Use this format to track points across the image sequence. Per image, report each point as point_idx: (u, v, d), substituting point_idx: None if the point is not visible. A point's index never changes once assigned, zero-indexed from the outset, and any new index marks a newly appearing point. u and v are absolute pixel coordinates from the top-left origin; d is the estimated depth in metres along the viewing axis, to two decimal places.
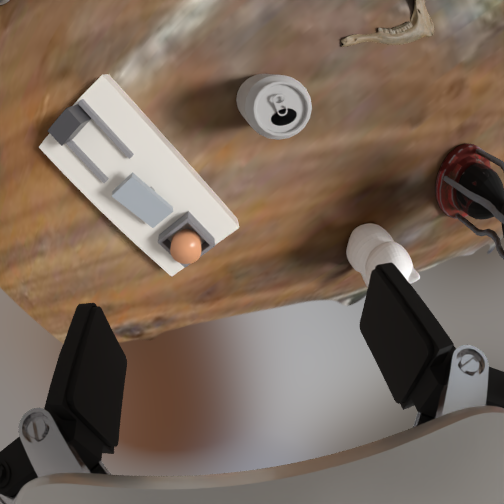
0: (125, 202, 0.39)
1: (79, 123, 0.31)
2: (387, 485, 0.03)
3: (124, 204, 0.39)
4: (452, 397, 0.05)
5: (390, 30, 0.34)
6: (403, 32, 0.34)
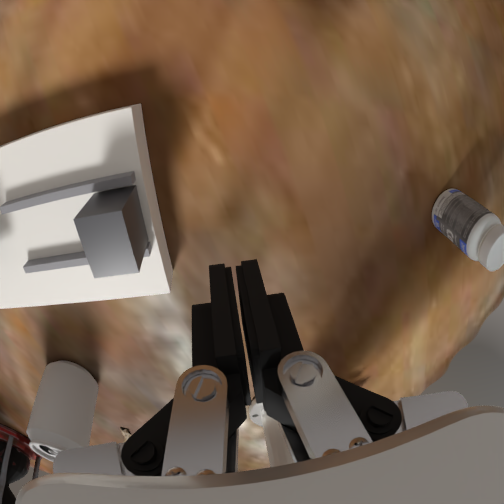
0: None
1: (96, 276, 0.17)
2: (387, 485, 0.03)
3: None
4: (308, 420, 0.06)
5: None
6: None
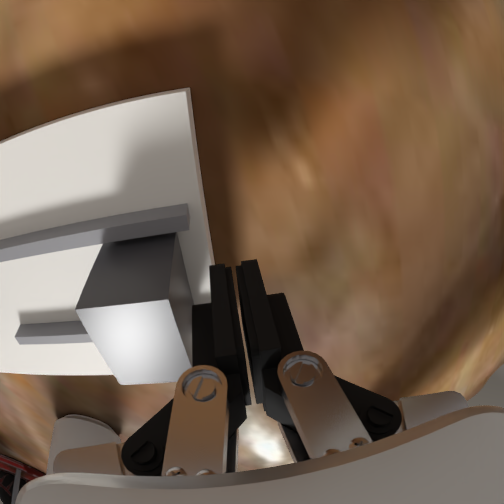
0: None
1: (124, 382, 0.10)
2: (387, 485, 0.03)
3: None
4: (308, 419, 0.06)
5: None
6: None
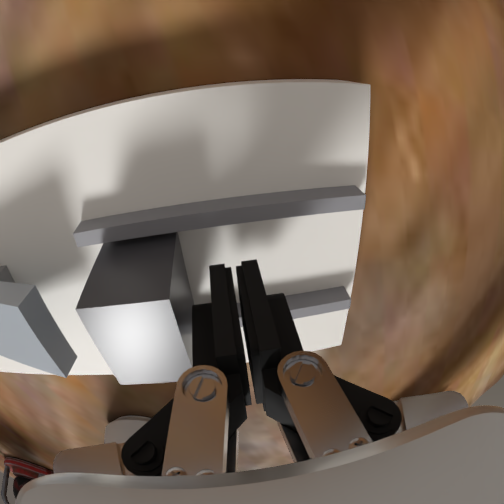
0: None
1: (124, 382, 0.10)
2: (387, 485, 0.03)
3: None
4: (307, 420, 0.06)
5: None
6: None
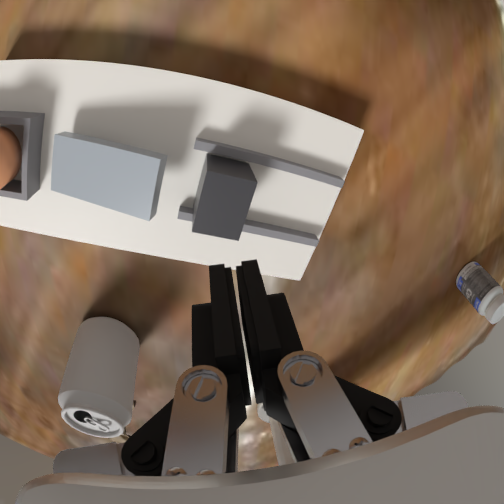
0: (127, 160, 0.17)
1: (195, 230, 0.19)
2: (387, 485, 0.03)
3: (126, 154, 0.16)
4: (308, 419, 0.06)
5: None
6: None
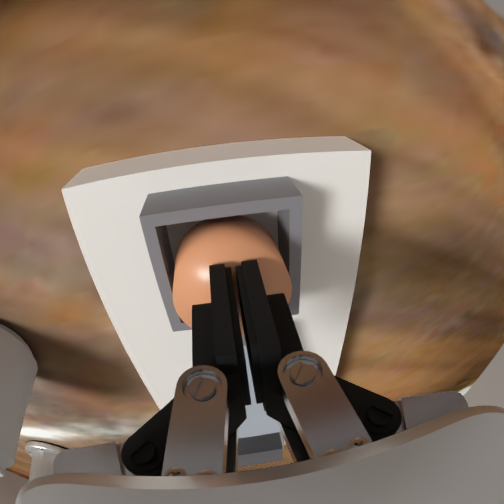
0: None
1: None
2: (387, 485, 0.03)
3: None
4: (308, 420, 0.06)
5: None
6: None
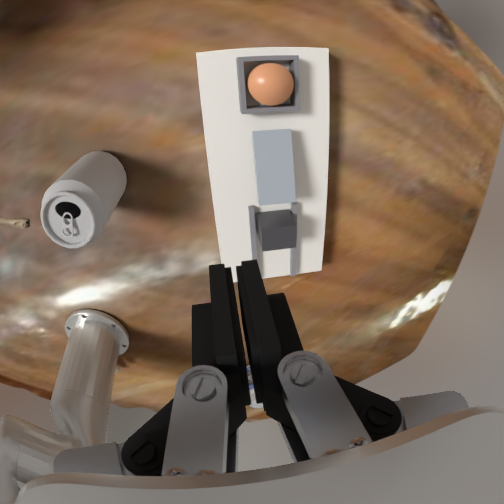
0: (289, 184, 0.33)
1: (262, 230, 0.35)
2: (387, 485, 0.03)
3: (292, 182, 0.33)
4: (308, 419, 0.06)
5: None
6: None
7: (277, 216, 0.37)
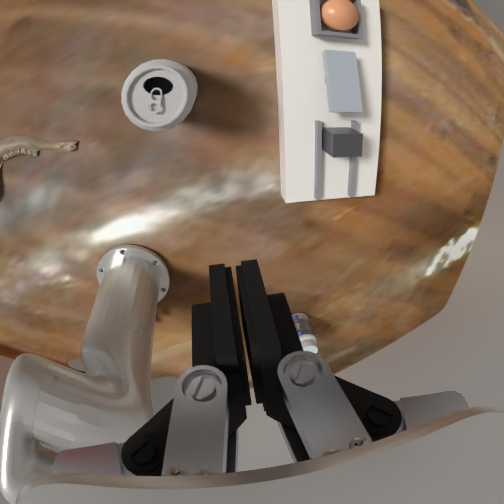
0: (356, 96, 0.33)
1: (334, 135, 0.34)
2: (387, 485, 0.03)
3: (359, 95, 0.32)
4: (308, 419, 0.06)
5: (25, 152, 0.34)
6: (12, 149, 0.34)
7: (342, 129, 0.36)
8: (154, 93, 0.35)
